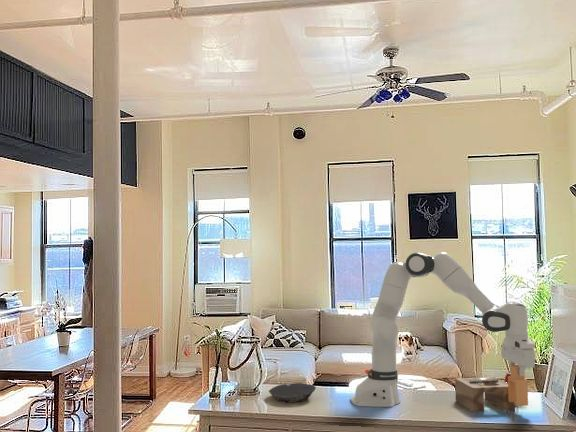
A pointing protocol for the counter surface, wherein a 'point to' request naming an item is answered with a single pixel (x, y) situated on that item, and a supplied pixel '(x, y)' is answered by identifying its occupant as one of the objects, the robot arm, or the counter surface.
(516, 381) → the stepped wooden block
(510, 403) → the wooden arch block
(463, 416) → the counter surface
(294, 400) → the bowl
